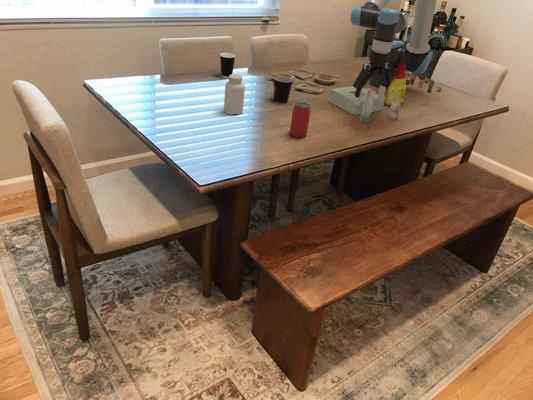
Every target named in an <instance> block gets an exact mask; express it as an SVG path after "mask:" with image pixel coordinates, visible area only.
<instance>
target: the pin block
mask: <svg viewBox="0 0 533 400" xmlns="http://www.w3.org/2000/svg"><path fill="white" fill-rule="evenodd" d="M366 89H367V88H365V87H363V88H362V90H363V93H362V97H361V101H360V105H359V106H358V105H356V104H354V100H355V92H356V88H355V87H353V85H351V86H344V87H343V86H342V87H337V88H330V90H329V94H328V99H327V101H328V102H329V103H331V104H332V105H334V106H336V107H338V108H340V109H342V110H344V111H346V112H347V113H349V114H352V115H353V114H354V115H353V116H356V115H357V116H358V115H361V111H362V107H363V102H364V98H365V94H366ZM377 96H378V93H376V94H375V98H374V102H373V106H372V110H371V113H374V112H381V111H383V110H384V106H385V103H384V102H385V96H384V97H383V101H382V102H379V101H377Z"/></svg>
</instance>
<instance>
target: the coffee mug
mask: <svg viewBox="0 0 533 400" xmlns="http://www.w3.org/2000/svg"><path fill="white" fill-rule="evenodd" d="M293 81H294V79H291V78H289V77H285V76H276V77H274V76H273V101H274V102H275V103H279V104H286V103H288V101H289V97H290V93H291V90H292V85H293Z"/></svg>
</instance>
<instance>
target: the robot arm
mask: <svg viewBox="0 0 533 400" xmlns="http://www.w3.org/2000/svg"><path fill="white" fill-rule="evenodd" d="M390 1H391V0H366V2H365V3H364V5H355V6H354V7H353V8H352V10H351V14H350V22H351V24H352V25H355V26H357V27H361V28H367V29H371V30H375V31H374V36H373V41H372V45H371V50H370V53H369V55H368V56H369V58H368V61H369V64H367V63H363V65H362V68H361V70H360V71H359V74H358V75H357V77H356V79H355V81H354V83H353V84H352V86H353V87H355V88H356V92H355V100H354V104H356V105H358V106H359V105H360V101H361V97H362V93H363V90H362V88H365V86H366V85H367V83H368V84H369V85H370V86H372V87H375V88H378V93H377V94H378V96H377V101H379V102H382V101H383V97H385V91H386V88H387V87H389V85H391V81H392V80H393V77H394V74H395V71H396V68H397V66H398V64H399V63H405V64H406V70H405V72H406V71H407V72H411V73H414V74H419V75H422V74H424V73H425V72H426V70H427V69H428V67H429V65H430V62H431V60H432V58H433V55H434V52H433V51H431V45H430V44H429V40H430V39H429V38H430V35H431V31H432V30H431V29H432V26H433V25H432V24H433V19H434V15H435V11H436V5H437V1H438V0H416V4H415V10H414V17H413V22H412V28H411V34H410V39H409V42H408V43H407V44H406V43H405V41H402V40H394V38H395V36H396V35H395V34H398V33H400V32H402V31H404V30H405V28H406V27H407V24H408V19H407V16H406V14H404V13H403V12H401V11H399V10H398V9H394V8H387V7H386V6H387V5H388V4H389V2H390ZM405 44H406V45H405Z"/></svg>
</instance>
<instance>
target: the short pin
mask: <svg viewBox="0 0 533 400" xmlns="http://www.w3.org/2000/svg"><path fill="white" fill-rule="evenodd" d="M401 106H402V103H399V102H392V104H391V105H390V108H389V112H388V116H387V119H389V120H392V121H396V120H397V119H398V116H399V112H400V109H401Z"/></svg>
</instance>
